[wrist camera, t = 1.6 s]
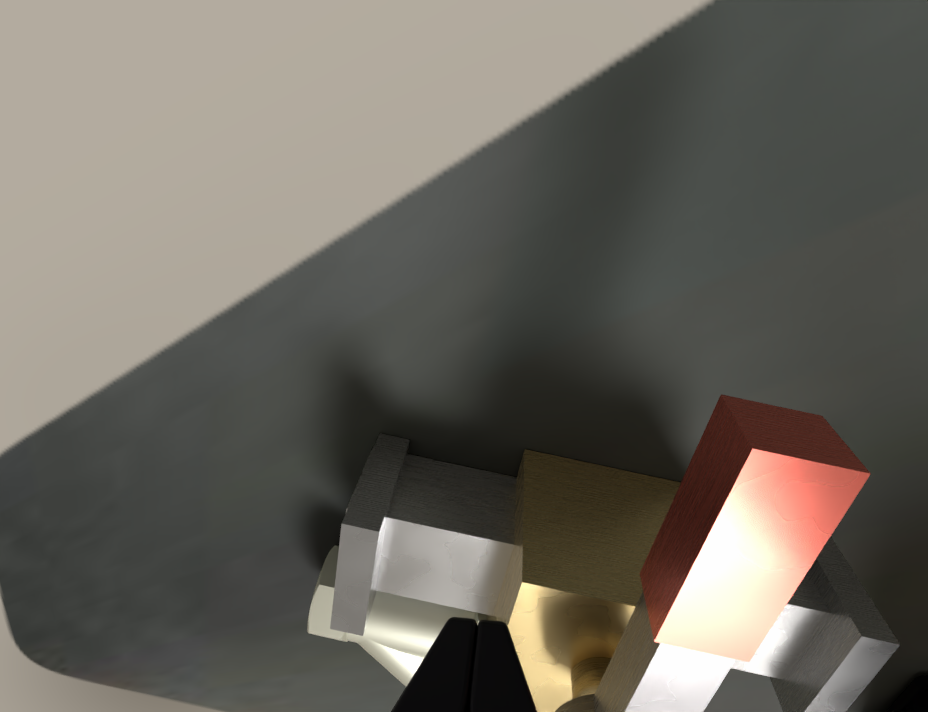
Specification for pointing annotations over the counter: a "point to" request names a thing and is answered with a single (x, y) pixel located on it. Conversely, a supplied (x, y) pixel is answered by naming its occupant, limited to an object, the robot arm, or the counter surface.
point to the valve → (573, 572)
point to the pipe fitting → (385, 624)
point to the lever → (728, 555)
